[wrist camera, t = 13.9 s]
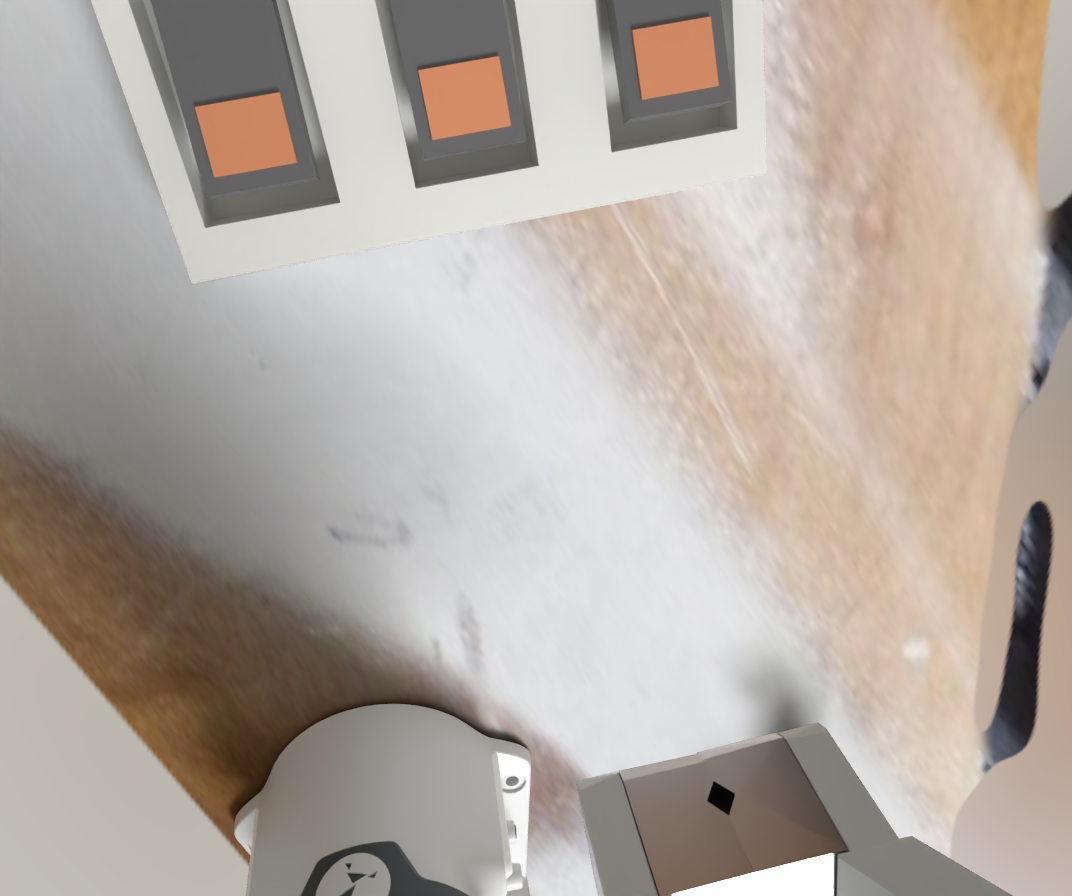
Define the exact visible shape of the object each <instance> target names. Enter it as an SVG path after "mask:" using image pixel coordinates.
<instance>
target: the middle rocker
mask: <svg viewBox="0 0 1072 896" xmlns="http://www.w3.org/2000/svg"><path fill="white" fill-rule="evenodd" d="M389 2H390V7H391V11H392V16H393V21H394V26H395V30H396V35H397V40H398V45H399V49H400V54H401V59H402V64H403V69H404V73H405V78H406V83H407V88H408V92H409V97H410V102H411V107H412V111H413V116H414V121H415V126H416V131H417V135H418V140H419V145H420V150H421V154H422V159H423V161H425V160H431V159H436V158H442V157H447V156H453V155H458V154H464V153H469V152H474V151H480V150H485V149H491V148H496V147H502V146H507V145H513V144H518V143H523V142H525V141H526V134H525V128H524V122H523V116H522V110H521V104H520V98H519V92H518V87H517V81H516V75H515V69H514V63H513V57H512V51H511V45H510V39H509V33H508V27H507V21H506V15H505V10H504V4H503V0H389Z"/></svg>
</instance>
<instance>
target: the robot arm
mask: <svg viewBox="0 0 1072 896" xmlns="http://www.w3.org/2000/svg"><path fill="white" fill-rule="evenodd" d="M511 776H513V777H511ZM530 777H531V761H530V753H529V751H528V750H527V749H526V748H525V747H523V746H521V745H519V744H516V743H512V742H508V741H504V740H499V739H494V738H489V737H487V736H485V735H483V734H481V733H479V732H478V731H476V730H475V729H473V728H472V727H470V726H469V725H467V724H466V723H464V722H463V721H461V720H459V719H457V718H455V717H453V716H451V715H449V714H446V713H444V712H441V711H438V710H435V709H431V708H427V707H422V706H416V705H407V704H380V705H371V706H364V707H359V708H355V709H351V710H347V711H344V712H341V713H338V714H336V715H333V716H330V717H328V718H326V719H324V720H322V721H320V722H318V723H316V724H314V725H313V726H311V727H310V728H308V729H307V730H305V731H304V732H302V733H301V734H300V735H299V736H297V737H296V738H295V739H294V740H293V741H292V742H291V743H290V744H289V745H288V746H287V747H286V748H285V749H284V750H283V752H282V753H281V754H280V756H279V757H278V759H277V760H276V762H275V764H274V766H273V768H272V770H271V773H270V775H269V778H268V780H267V782H266V784H265V786H264V788H263V789H262V791H261V792H260V793H259V794H257V795H256V796H255V797H254V798H253V799H251V800H250V801H249V802H248V803H247V804H246V805H245V806H244V807H243V808H242V809H241V810H240V811H239V812H238V814H237V815H236V818H235V827H234V835H235V837H236V839H237V840H238V841H239V843H240V844H241V845H242V846H243V847H244V848H245V850H246V851H247V852H248V853H249V854H250V855H251V856H250V864H249V873H248V883H247V891H246V896H530V894H529V887H528V881H527V877H526V863H527V842H528V820H529V799H530ZM576 786H577V791H578V796H579V802H580V807H581V812H582V818H583V823H584V828H585V833H586V839H587V844H588V849H589V854H590V859H591V864H592V869H593V873H594V878H595V883H596V888H597V892H598V896H1012V895H1011V894H1009V893H1007V892H1005V891H1004V890H1002V889H1001V888H999V887H997V886H995V885H994V884H992V883H990V882H989V881H987V880H985V879H984V878H982V877H980V876H979V875H977V874H975V873H974V872H972V871H970V870H968V869H967V868H965V867H963V866H962V865H960V864H958V863H956V862H955V861H953V860H952V859H950V858H948V857H946V856H945V855H943V854H941V853H940V852H938V851H936V850H935V849H933V848H931V847H930V846H928V845H926V844H924V843H923V842H921V841H919V840H918V839H916V838H914V837H913V836H909V837H904V838H900V839H899V838H898V837H897V835H896V834H895V832H894V831H893V829H892V828H891V826H890V825H889V823H888V822H887V820H886V818H885V817H884V815H883V814H882V812H881V811H880V809H879V808H878V806H877V805H876V803H875V802H874V800H873V799H872V797H871V796H870V794H869V793H868V791H867V790H866V788H865V787H864V785H863V784H862V782H861V781H860V779H859V777H858V776H857V774H856V773H855V771H854V770H853V768H852V767H851V765H850V764H849V762H848V761H847V759H846V758H845V756H844V755H843V753H842V752H841V750H840V749H839V747H838V746H837V744H836V743H835V741H834V740H833V738H832V736H831V735H830V733H829V732H828V730H827V729H826V728H825V727H823V726H822V725H821V724H819V723H815V724H811V725H807V726H803V727H799V728H795V729H791V730H786V731H782V732H778V733H777V734H776V733H771V734H767V735H763V736H759V737H755V738H752V739H748V740H744V741H740V742H736V743H732V744H728V745H724V746H721V747H717V748H713V749H709V750H705V751H701V752H697V754H695V755H691V756H686V757H681V758H677V759H672V760H667V761H663V762H658V763H653V764H649V765H644V766H639V767H635V768H630V769H625V770H621V771H619V772H613V773H609V774H604V775H600V776H595V777H591V778H587V779H582V780H578V781H577V784H576Z"/></svg>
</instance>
